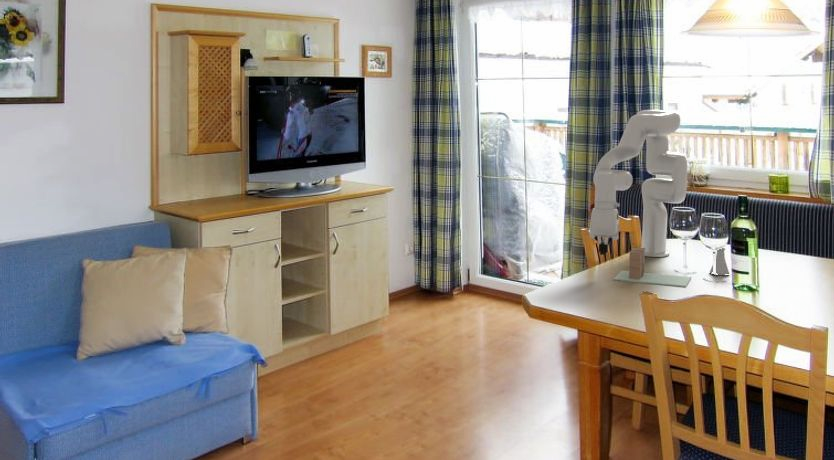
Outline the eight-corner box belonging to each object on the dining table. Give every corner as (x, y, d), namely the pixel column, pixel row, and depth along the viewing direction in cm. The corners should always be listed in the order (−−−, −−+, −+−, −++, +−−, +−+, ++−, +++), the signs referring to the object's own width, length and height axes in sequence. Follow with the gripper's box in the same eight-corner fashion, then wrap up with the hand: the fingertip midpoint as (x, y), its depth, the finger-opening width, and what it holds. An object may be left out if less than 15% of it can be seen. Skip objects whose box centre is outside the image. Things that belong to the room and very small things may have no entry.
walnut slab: (632, 273, 284) (633, 247, 282) (643, 274, 283) (644, 248, 281) (628, 278, 277) (629, 251, 275) (639, 279, 276) (640, 252, 274)
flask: (726, 271, 286) (727, 245, 284) (732, 276, 279) (734, 250, 277) (706, 271, 287) (707, 245, 285) (712, 276, 280) (713, 250, 278)
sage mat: (621, 271, 289) (621, 270, 289) (691, 278, 277) (691, 277, 277) (614, 280, 277) (614, 278, 277) (685, 287, 266) (686, 285, 266)
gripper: (627, 205, 280) (625, 254, 283) (587, 203, 287) (585, 250, 290) (623, 208, 274) (621, 258, 277) (582, 205, 280) (580, 254, 284)
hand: (603, 254), depth 284 cm, fingers closed
